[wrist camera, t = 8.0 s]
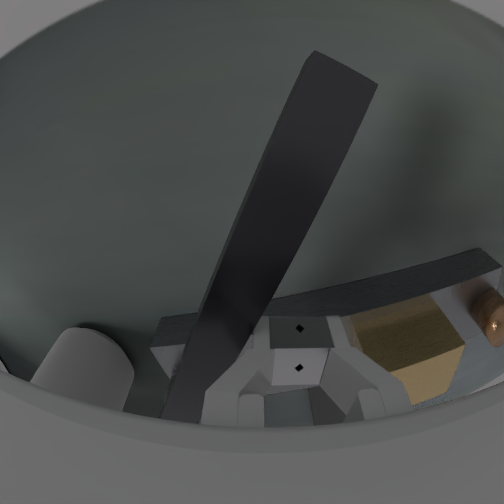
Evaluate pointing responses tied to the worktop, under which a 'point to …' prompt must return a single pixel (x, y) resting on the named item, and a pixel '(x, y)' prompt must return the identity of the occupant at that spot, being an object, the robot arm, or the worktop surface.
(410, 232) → the worktop surface
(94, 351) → the can
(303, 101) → the lever
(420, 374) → the brown wooden block
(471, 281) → the body
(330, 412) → the mat
